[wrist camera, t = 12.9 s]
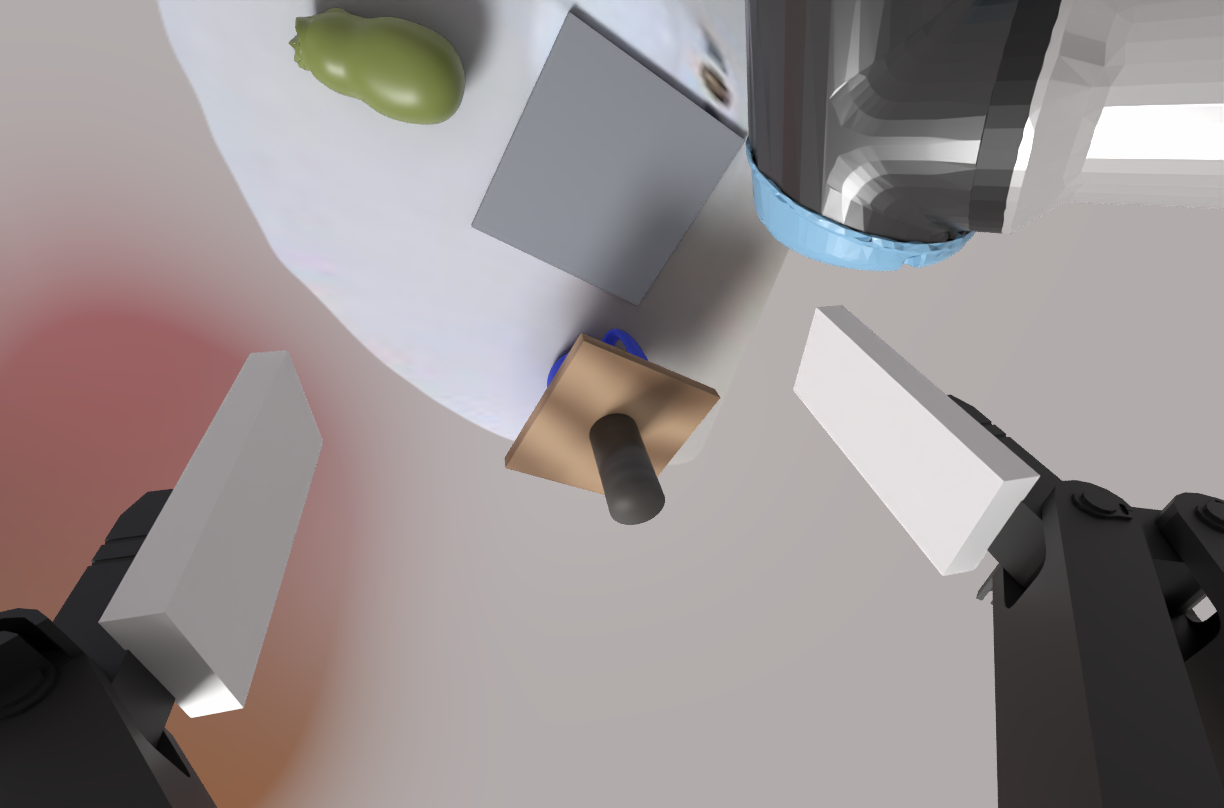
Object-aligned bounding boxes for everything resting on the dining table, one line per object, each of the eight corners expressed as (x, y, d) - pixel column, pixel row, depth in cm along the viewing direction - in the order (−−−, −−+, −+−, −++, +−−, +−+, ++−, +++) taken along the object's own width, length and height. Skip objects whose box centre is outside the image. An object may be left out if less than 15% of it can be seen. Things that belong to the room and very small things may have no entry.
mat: (568, 11, 36) (569, 11, 36) (742, 139, 44) (745, 140, 44) (471, 224, 43) (471, 226, 43) (636, 303, 51) (637, 306, 50)
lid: (581, 332, 40) (606, 409, 33) (715, 389, 46) (761, 464, 39) (504, 457, 46) (512, 546, 38) (632, 493, 52) (660, 576, 44)
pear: (451, 142, 35) (280, 97, 33) (465, 128, 39) (315, 86, 37) (460, 40, 32) (273, -17, 30) (475, 36, 36) (312, -14, 34)
